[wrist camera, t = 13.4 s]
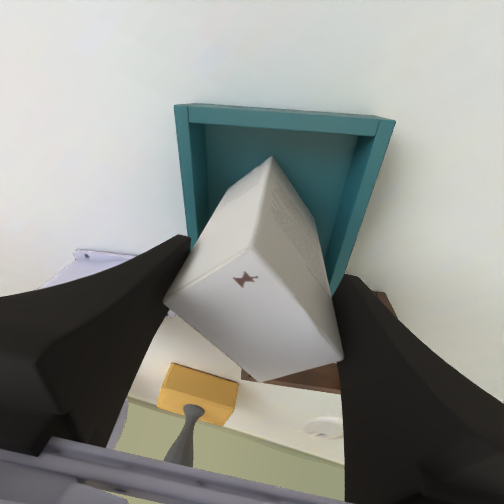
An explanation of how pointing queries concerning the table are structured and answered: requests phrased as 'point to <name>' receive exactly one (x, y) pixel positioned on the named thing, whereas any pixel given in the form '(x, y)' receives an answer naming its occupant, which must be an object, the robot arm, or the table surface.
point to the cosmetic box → (260, 280)
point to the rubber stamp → (194, 405)
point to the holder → (316, 371)
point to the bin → (284, 165)
